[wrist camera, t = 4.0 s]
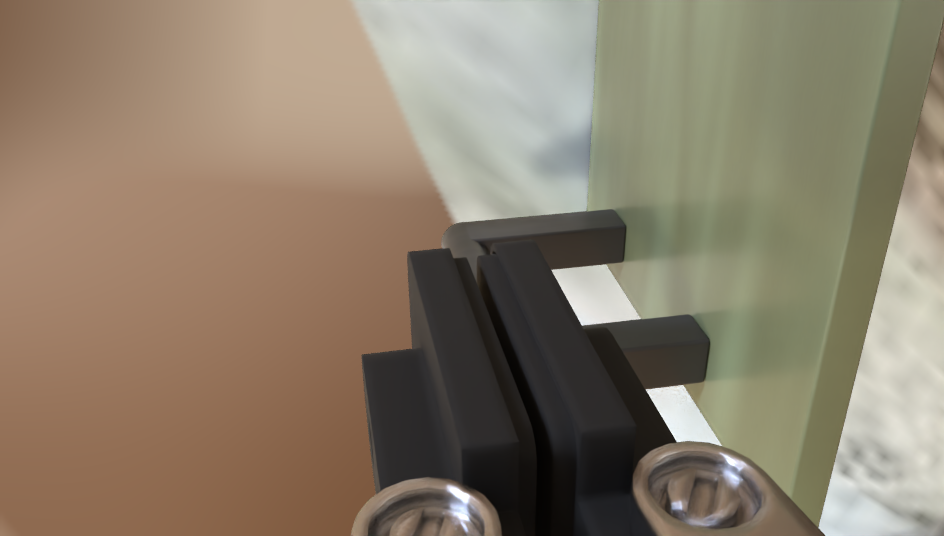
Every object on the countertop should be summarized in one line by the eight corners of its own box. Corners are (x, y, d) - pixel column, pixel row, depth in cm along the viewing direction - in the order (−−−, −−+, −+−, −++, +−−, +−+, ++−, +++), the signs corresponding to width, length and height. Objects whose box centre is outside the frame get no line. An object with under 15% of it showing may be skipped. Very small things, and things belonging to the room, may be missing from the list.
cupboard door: (431, 247, 28) (527, 578, 17) (409, -304, 21) (551, -403, 9) (608, 230, 29) (818, 533, 17) (646, -304, 22) (1049, -396, 10)
